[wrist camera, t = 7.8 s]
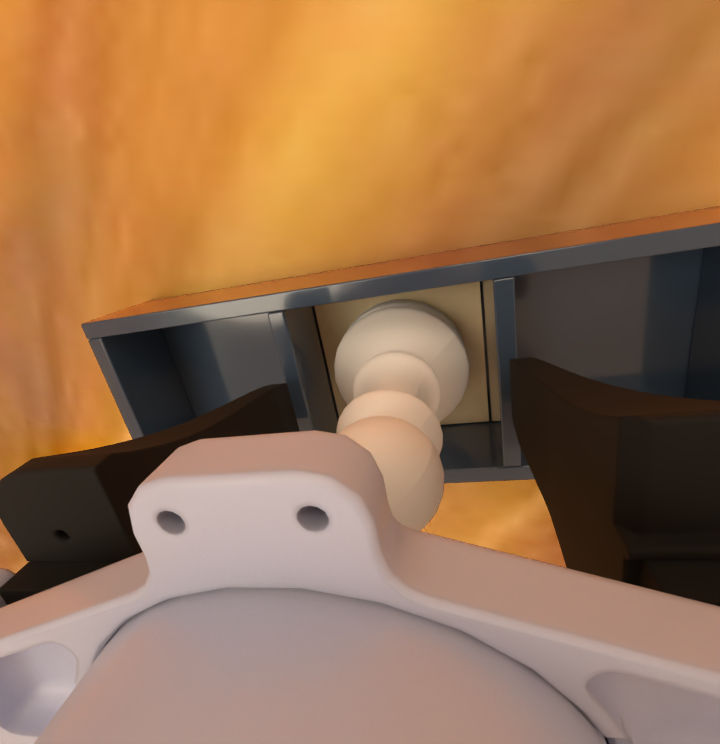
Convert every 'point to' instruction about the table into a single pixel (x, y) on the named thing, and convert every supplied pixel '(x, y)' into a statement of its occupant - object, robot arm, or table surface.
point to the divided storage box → (463, 307)
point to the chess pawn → (402, 398)
